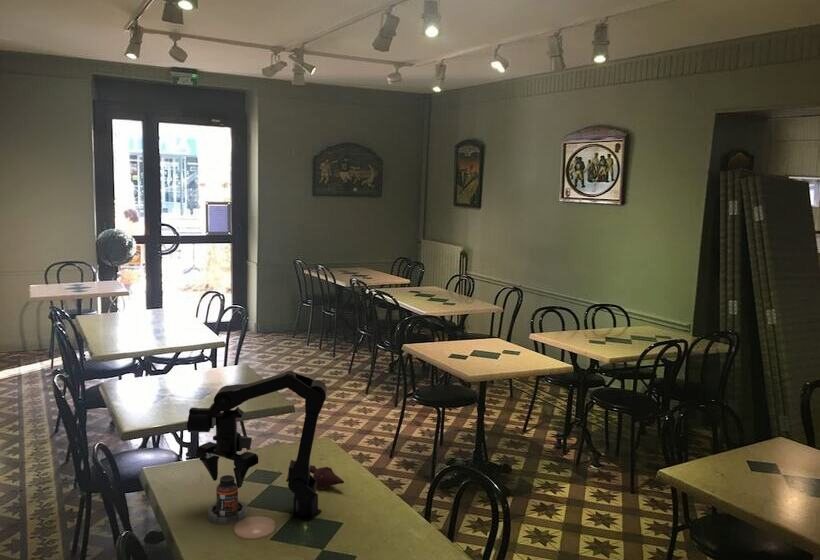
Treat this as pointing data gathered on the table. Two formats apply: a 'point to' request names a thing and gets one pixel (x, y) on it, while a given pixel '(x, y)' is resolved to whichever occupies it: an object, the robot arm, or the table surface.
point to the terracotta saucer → (254, 527)
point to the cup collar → (227, 519)
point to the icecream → (325, 477)
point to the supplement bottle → (227, 496)
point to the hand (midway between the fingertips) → (227, 483)
